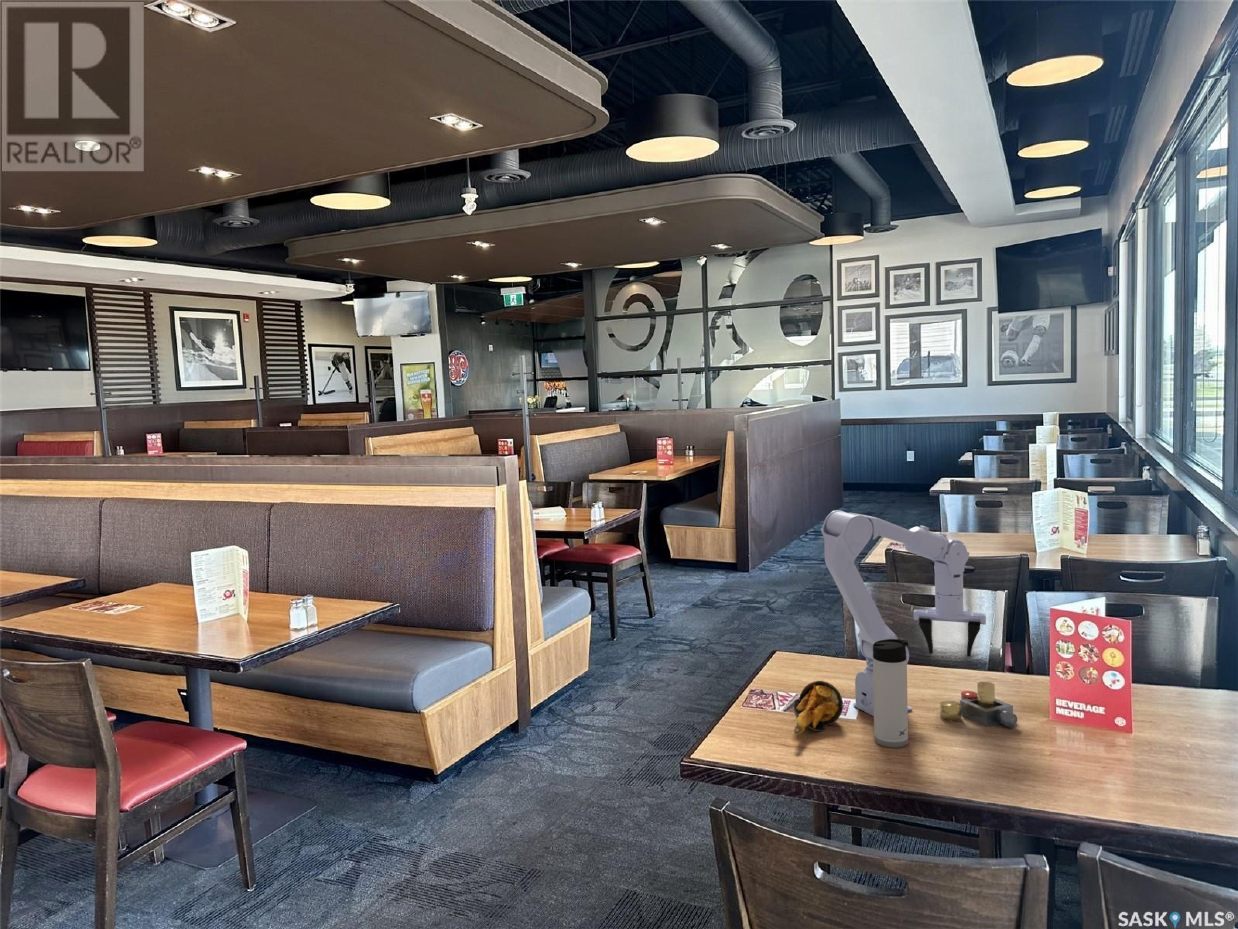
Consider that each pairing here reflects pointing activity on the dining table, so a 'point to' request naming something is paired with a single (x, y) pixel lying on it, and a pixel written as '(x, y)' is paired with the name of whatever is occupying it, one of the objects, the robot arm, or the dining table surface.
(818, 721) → the fried food
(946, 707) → the brass union nut
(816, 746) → the dining table surface
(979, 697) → the brass nipple
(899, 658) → the travel mug
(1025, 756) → the dining table surface
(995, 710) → the valve body
